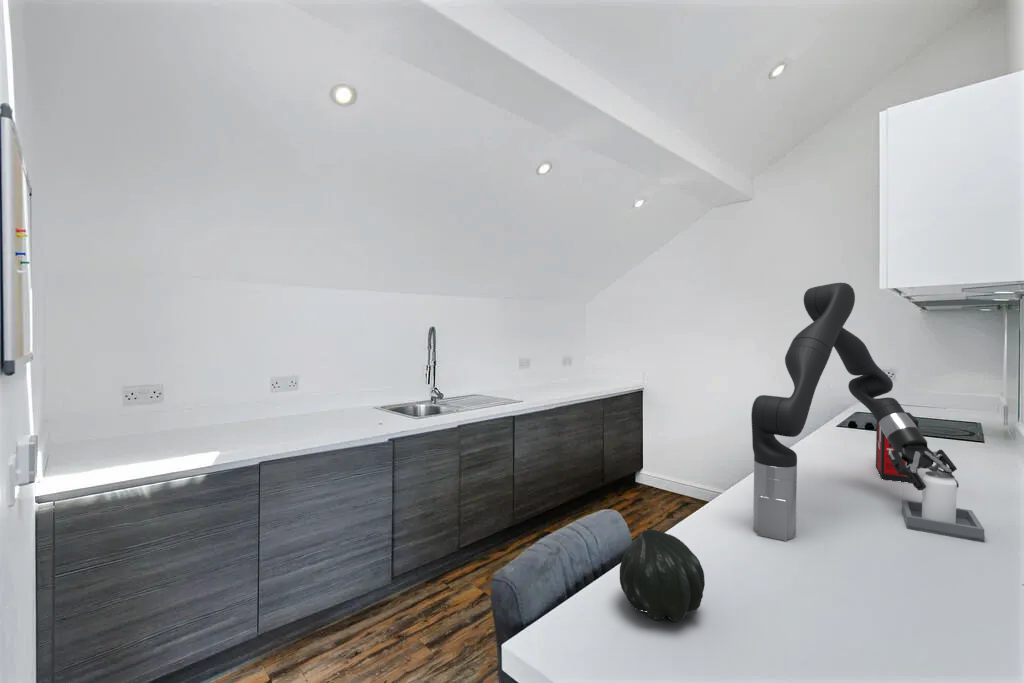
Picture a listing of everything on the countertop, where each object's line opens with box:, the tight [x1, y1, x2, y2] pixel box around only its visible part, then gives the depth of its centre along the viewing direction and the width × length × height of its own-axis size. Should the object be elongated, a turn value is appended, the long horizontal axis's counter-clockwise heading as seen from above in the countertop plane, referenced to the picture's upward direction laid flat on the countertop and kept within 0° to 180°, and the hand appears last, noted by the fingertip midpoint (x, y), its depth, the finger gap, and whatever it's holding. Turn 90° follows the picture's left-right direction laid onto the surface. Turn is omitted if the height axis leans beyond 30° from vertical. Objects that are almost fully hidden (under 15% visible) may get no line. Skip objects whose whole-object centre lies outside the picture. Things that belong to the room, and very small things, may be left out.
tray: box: [901, 499, 985, 543], centre depth 124 cm, size 14×14×3 cm
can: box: [921, 470, 958, 523], centre depth 124 cm, size 6×6×12 cm
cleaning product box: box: [875, 411, 919, 484], centre depth 164 cm, size 16×9×20 cm, turn 149°
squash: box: [619, 528, 706, 622], centre depth 89 cm, size 14×15×15 cm
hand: (938, 488), depth 124 cm, fingers open, 8 cm apart
